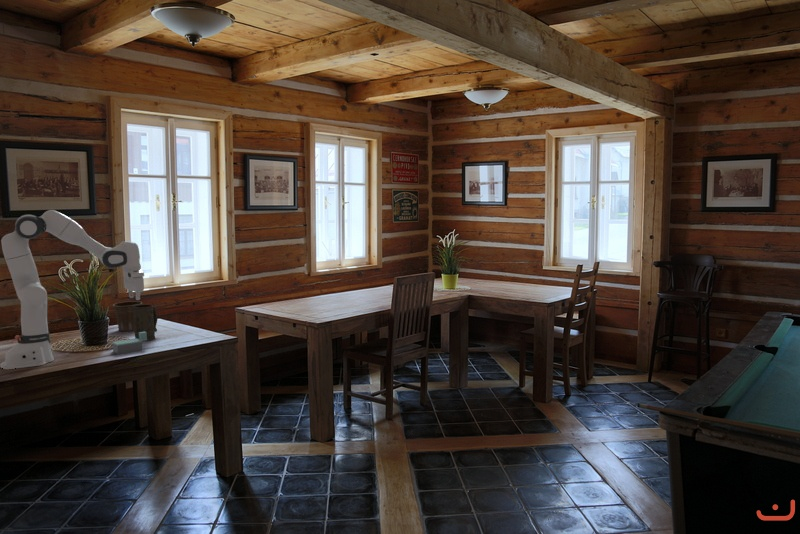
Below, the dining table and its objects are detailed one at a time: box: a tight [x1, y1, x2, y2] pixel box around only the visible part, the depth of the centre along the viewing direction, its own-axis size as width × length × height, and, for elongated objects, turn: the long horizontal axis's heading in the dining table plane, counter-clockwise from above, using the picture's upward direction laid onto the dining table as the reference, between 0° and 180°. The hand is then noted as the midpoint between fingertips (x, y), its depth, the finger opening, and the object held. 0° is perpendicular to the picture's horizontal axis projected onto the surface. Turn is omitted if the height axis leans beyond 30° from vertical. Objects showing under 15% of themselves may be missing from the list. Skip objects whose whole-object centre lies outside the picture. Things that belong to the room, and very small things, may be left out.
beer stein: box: [133, 304, 159, 343], centre depth 349 cm, size 15×11×20 cm
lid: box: [112, 331, 147, 346], centre depth 321 cm, size 16×8×4 cm, turn 131°
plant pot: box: [112, 300, 143, 333], centre depth 376 cm, size 16×16×16 cm
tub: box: [112, 342, 143, 355], centre depth 320 cm, size 12×8×5 cm, turn 131°
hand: (134, 298), depth 323 cm, fingers open, 8 cm apart
